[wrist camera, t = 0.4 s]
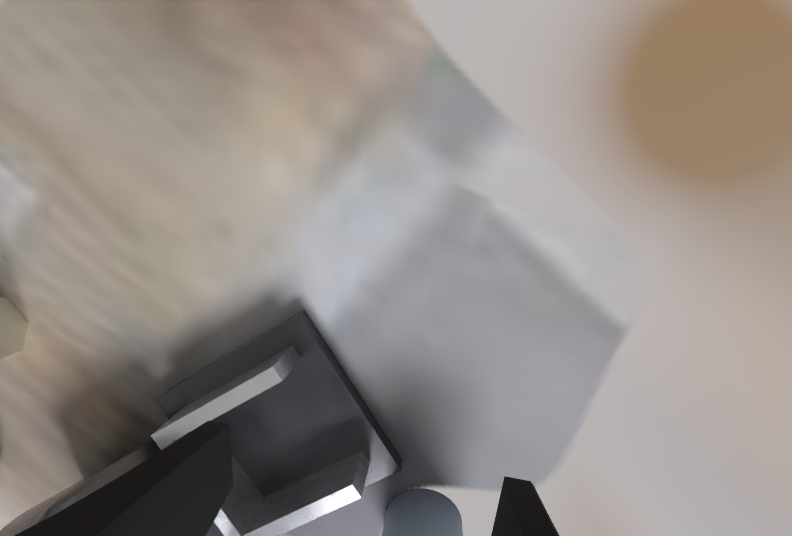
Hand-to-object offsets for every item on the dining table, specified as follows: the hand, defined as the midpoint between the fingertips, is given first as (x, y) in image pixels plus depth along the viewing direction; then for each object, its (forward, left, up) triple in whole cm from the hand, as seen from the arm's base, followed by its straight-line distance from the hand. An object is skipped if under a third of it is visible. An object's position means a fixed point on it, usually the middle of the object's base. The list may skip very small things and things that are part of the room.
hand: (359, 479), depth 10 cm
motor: (-13, -1, -10) cm, 17 cm away
